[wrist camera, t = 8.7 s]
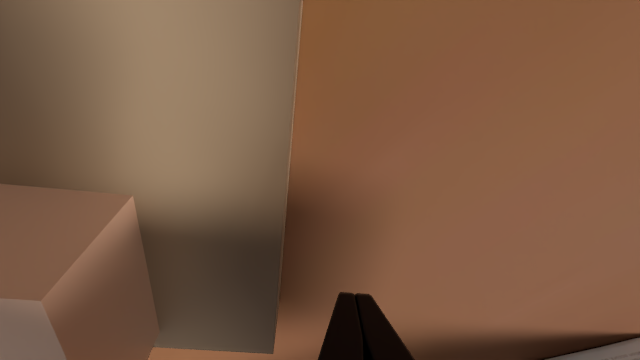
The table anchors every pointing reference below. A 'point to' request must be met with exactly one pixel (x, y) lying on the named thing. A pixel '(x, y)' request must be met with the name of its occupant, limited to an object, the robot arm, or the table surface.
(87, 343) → the peach square block
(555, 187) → the table surface
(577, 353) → the small box
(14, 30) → the board
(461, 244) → the table surface
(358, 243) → the table surface
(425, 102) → the table surface
